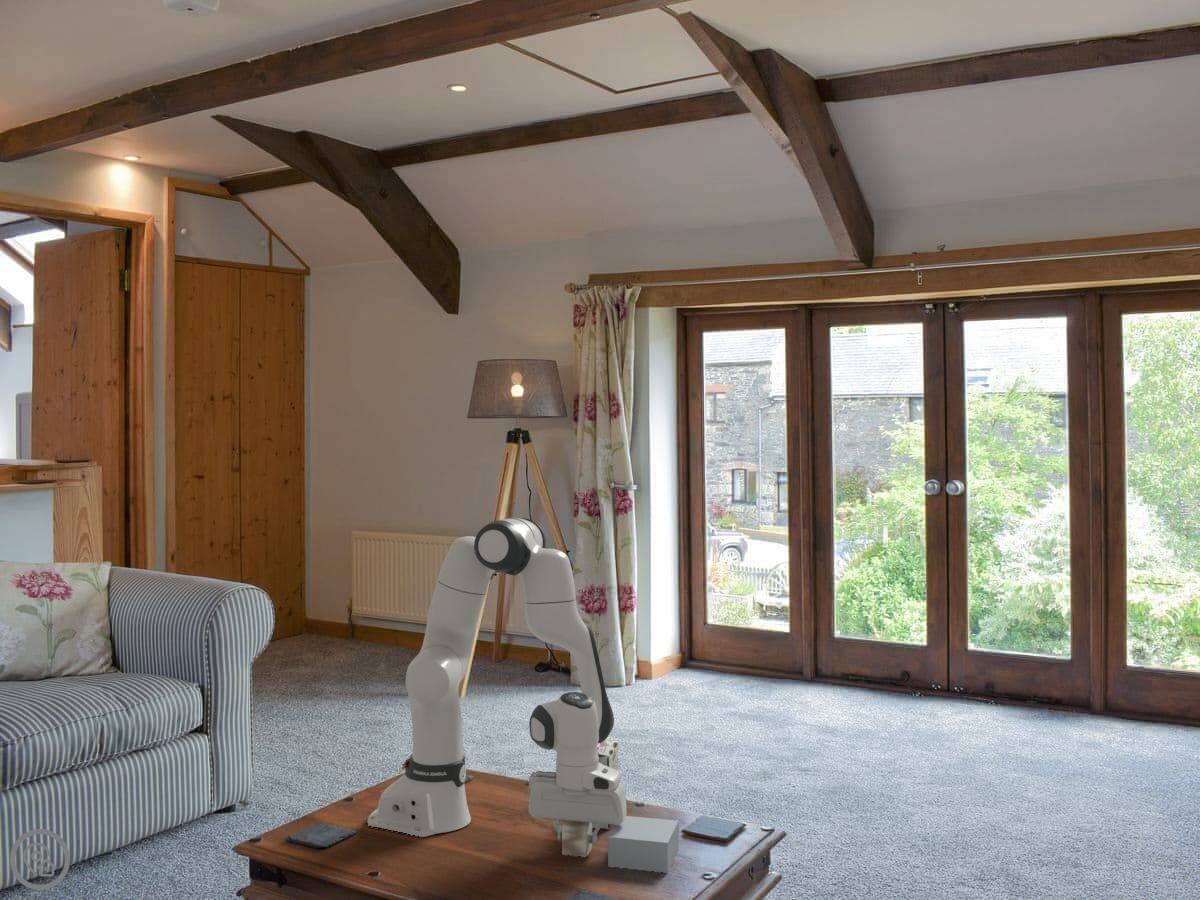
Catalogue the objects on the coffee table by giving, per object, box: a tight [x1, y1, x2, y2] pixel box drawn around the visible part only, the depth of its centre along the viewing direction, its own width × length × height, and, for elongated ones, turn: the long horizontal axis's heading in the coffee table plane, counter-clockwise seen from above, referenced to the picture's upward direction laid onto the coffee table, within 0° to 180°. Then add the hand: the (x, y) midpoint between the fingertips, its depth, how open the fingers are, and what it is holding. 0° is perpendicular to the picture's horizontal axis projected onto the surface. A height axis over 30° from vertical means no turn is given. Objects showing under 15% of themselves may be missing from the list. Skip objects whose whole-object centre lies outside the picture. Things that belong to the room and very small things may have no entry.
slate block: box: [607, 815, 680, 874], centre depth 219 cm, size 12×12×6 cm
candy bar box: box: [592, 739, 619, 831], centre depth 240 cm, size 11×5×16 cm, turn 168°
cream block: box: [561, 820, 593, 858], centre depth 223 cm, size 5×5×6 cm
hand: (577, 841), depth 223 cm, fingers closed on cream block, 5 cm apart
